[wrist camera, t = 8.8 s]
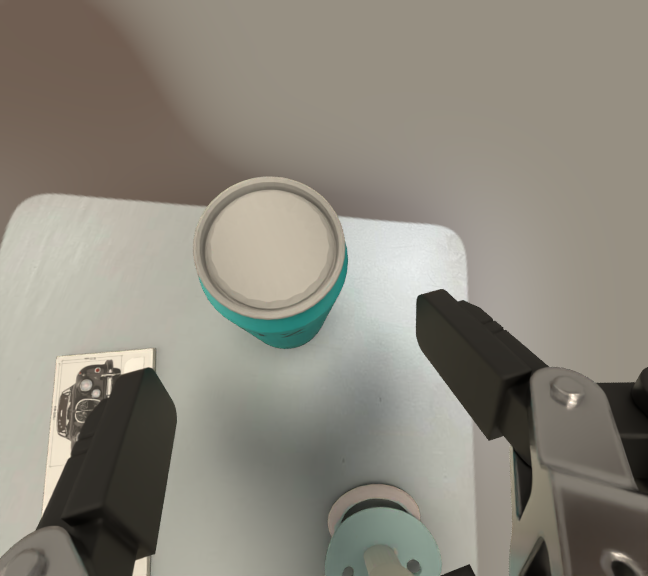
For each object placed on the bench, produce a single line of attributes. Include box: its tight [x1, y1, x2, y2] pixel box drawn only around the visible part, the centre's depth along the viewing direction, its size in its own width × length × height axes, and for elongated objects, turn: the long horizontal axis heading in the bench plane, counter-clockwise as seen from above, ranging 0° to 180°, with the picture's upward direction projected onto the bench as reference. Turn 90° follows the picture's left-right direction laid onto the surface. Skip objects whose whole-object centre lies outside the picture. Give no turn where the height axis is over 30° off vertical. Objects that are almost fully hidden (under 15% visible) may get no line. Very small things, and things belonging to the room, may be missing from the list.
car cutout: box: [41, 348, 156, 576], centre depth 20 cm, size 15×7×4 cm, turn 5°
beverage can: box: [193, 177, 348, 349], centre depth 18 cm, size 6×6×15 cm
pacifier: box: [325, 484, 442, 576], centre depth 19 cm, size 7×6×6 cm
